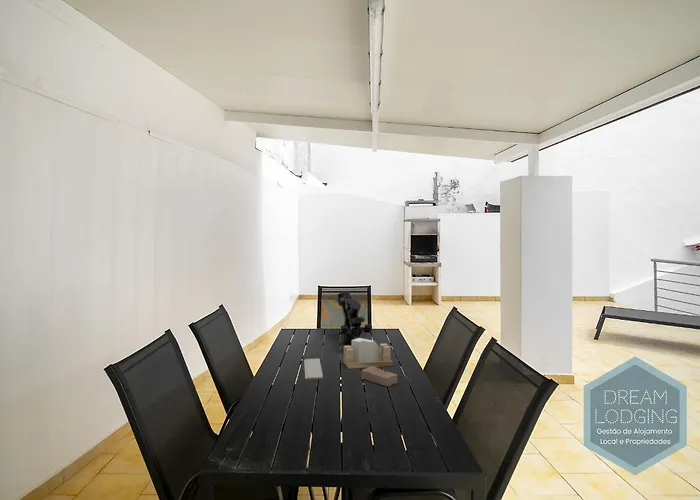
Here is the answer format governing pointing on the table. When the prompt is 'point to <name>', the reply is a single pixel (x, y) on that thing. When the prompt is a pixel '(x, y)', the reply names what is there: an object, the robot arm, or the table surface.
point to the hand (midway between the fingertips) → (358, 341)
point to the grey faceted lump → (365, 350)
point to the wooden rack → (384, 357)
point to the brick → (379, 376)
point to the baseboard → (312, 368)
